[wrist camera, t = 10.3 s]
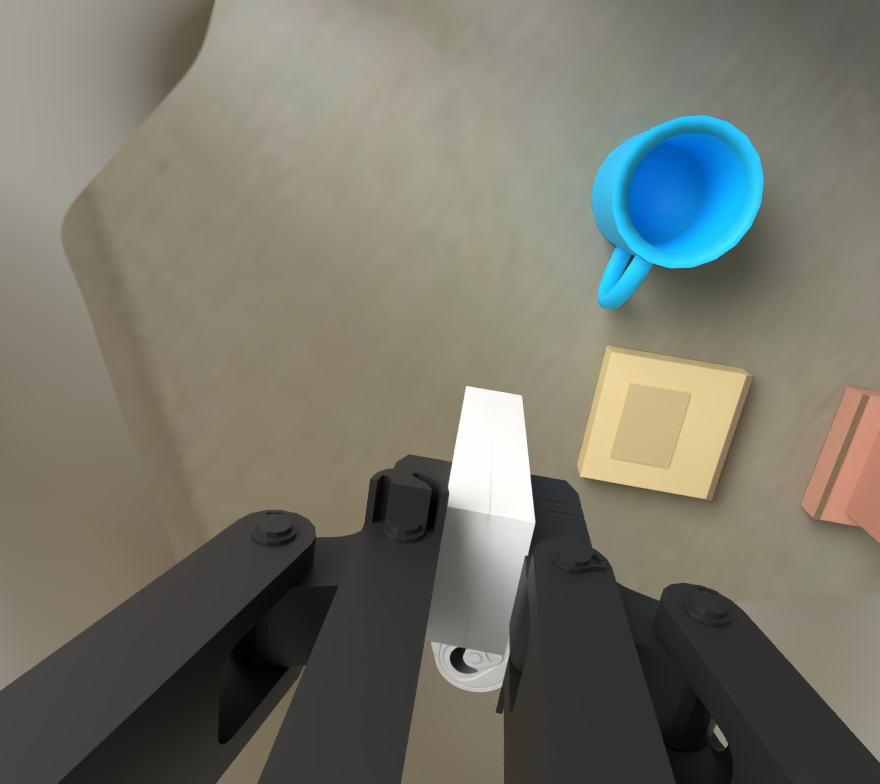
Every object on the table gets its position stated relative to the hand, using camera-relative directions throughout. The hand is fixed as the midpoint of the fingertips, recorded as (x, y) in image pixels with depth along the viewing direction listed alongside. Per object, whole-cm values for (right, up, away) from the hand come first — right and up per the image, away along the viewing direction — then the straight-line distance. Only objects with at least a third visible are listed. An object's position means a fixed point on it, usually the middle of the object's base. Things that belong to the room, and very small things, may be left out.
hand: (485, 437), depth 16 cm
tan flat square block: (+15, -1, +30) cm, 34 cm away
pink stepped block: (+31, -4, +29) cm, 43 cm away
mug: (+13, +13, +26) cm, 32 cm away
